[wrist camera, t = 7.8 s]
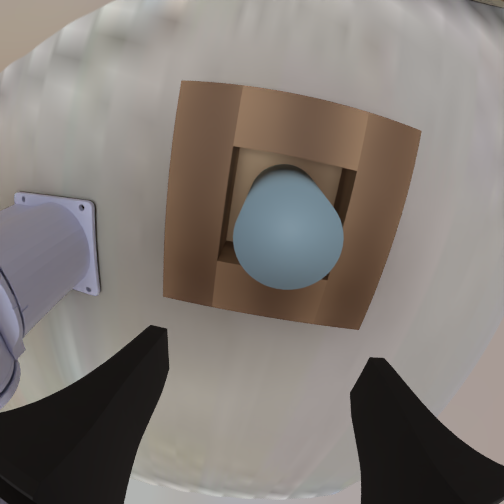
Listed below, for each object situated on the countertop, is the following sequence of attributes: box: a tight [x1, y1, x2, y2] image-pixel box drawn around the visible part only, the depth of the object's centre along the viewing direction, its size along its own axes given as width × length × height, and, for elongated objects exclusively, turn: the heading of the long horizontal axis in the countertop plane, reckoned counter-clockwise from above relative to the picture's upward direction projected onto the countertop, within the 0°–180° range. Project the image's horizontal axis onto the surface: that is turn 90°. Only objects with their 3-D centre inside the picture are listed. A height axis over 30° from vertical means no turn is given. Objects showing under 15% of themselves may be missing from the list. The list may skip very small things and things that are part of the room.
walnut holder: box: [163, 81, 421, 330], centre depth 16 cm, size 12×12×4 cm
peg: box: [233, 164, 344, 290], centre depth 14 cm, size 4×4×7 cm
